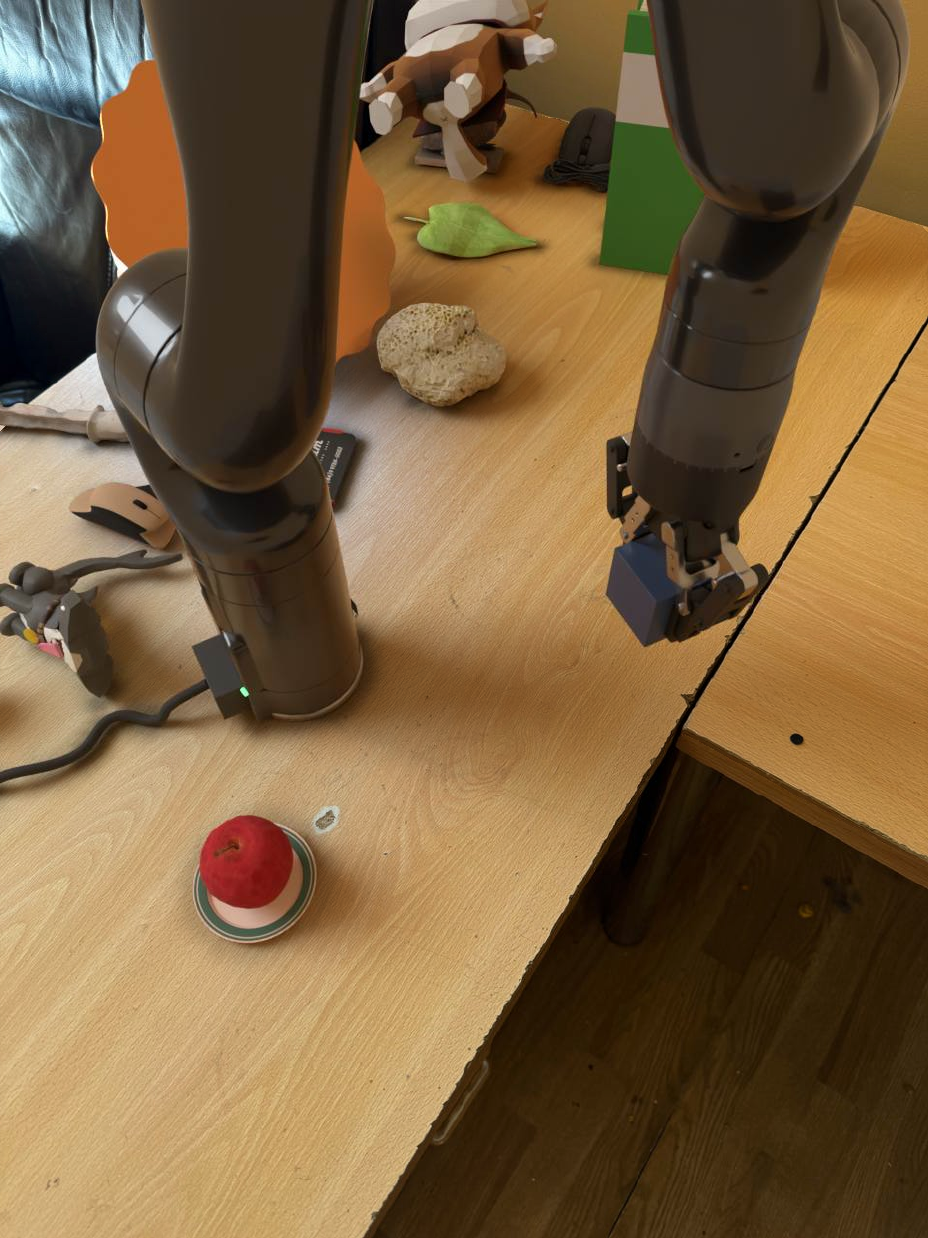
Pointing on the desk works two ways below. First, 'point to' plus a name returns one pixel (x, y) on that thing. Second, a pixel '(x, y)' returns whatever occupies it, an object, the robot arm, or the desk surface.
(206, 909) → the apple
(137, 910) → the desk surface
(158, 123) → the orange scalloped disc
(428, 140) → the figurine
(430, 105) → the toy
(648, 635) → the cube
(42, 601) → the toy monster
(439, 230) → the leaf
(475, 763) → the desk surface
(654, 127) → the hardback book
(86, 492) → the computer mouse
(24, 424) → the carved wooden stick
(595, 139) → the computer mouse
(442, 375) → the decorative item
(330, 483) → the black flat block
